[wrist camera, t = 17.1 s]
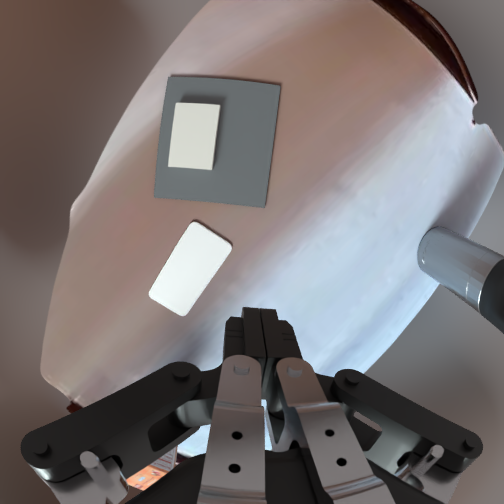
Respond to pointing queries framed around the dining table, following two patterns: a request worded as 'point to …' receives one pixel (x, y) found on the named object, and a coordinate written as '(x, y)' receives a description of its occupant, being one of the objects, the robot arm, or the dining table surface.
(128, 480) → the cracker box
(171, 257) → the smartphone
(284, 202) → the dining table surface
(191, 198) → the mat
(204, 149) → the card box
